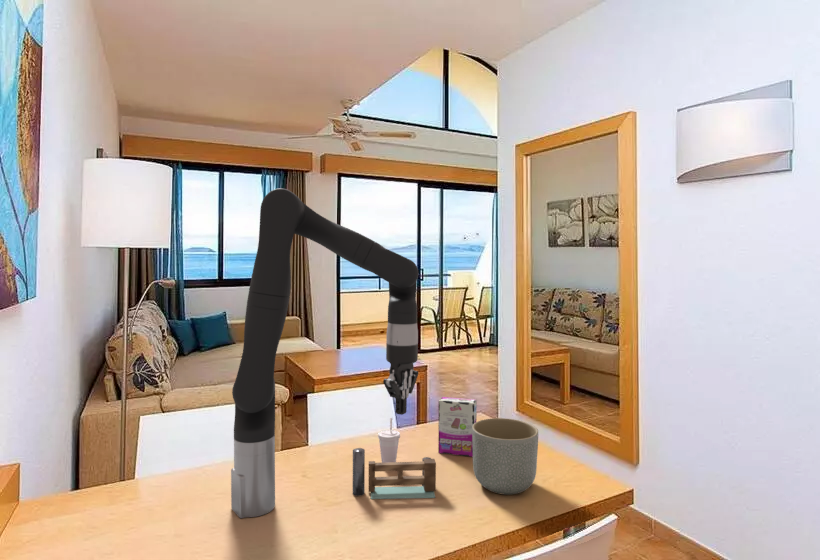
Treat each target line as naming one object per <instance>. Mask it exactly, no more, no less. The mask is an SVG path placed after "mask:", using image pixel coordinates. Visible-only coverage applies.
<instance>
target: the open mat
mask: <svg viewBox="0 0 820 560" xmlns="http://www.w3.org/2000/svg"><path fill="white" fill-rule="evenodd" d="M387 499H389V500H391V499H393V500H394V499H398V500H399V499H436V495H435V491H424V487H423V486H422V485H421V486H420V485H408V486H375V492H370V500H387Z"/></svg>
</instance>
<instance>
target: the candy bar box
mask: <svg viewBox="0 0 820 560" xmlns="http://www.w3.org/2000/svg"><path fill="white" fill-rule="evenodd" d="M477 401H478V400H477V399H473V398H461V397H460V398H459V397H448V396H442V397H440V399H439V400H438V439H437V440H438V443H437V445H438V447H437V450H438V454H443V455H450V456H462V457H468V458H470V457H471V458H473V448H472V426H473V424H474V423H476V422H477V420H478V419H477V409H478V408H477V406H478V405H477Z"/></svg>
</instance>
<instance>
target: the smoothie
mask: <svg viewBox="0 0 820 560" xmlns="http://www.w3.org/2000/svg"><path fill="white" fill-rule="evenodd" d="M400 438H401V432H399V431H398V430H395V429H393V418H392V417H390V418H389V429H385V430H384V429H383V430H381V431H379V432H378V433H377V439H378V440H379V449H380V450H379V451H380V459H381V463H383V462H397V459H398V458H397V457H398V449H399V441H400Z"/></svg>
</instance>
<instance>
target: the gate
mask: <svg viewBox="0 0 820 560" xmlns="http://www.w3.org/2000/svg"><path fill="white" fill-rule="evenodd" d="M436 467H437V462H436V459H435V458H431V459H424V461H422V460H421V461H396V462H383V463H382V462H376V461H374V460H371V461H370V460H369V461H368V493H371V492H375V487H394V486H420V485H421V486H422V485H423V487H424V491H434V492H436V490H437V489H436V486H437V485H436V484H437V481H436V478H437V473H436V472H437V470H436V469H437V468H436ZM422 470H424V472H423V476H422V475H403V474H404V472H405V471H406V472H407V471H409V472H410V471H411V472H412V471H422ZM376 472H397V475H396V476H376Z"/></svg>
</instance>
